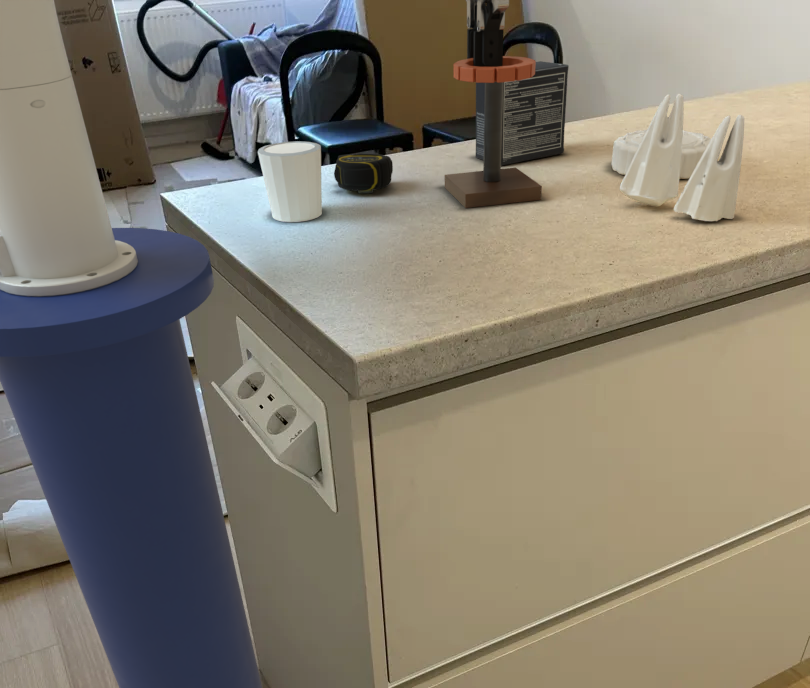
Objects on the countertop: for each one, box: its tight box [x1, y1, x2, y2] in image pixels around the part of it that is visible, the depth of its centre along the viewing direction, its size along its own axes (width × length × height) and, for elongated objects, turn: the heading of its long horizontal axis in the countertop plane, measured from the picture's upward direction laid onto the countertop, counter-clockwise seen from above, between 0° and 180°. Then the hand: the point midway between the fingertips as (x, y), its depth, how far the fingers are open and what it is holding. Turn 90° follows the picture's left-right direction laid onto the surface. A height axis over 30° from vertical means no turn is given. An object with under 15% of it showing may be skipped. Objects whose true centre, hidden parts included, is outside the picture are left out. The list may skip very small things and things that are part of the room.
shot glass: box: [257, 140, 323, 223], centre depth 89 cm, size 7×7×7 cm
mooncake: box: [610, 129, 712, 180], centre depth 99 cm, size 12×12×4 cm
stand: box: [444, 82, 543, 209], centre depth 90 cm, size 9×9×13 cm
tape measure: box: [333, 153, 394, 194], centre depth 97 cm, size 7×7×4 cm
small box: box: [475, 60, 570, 167], centre depth 105 cm, size 11×6×10 cm, turn 118°
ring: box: [453, 55, 537, 84], centre depth 87 cm, size 9×9×1 cm
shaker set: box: [619, 93, 745, 222], centre depth 82 cm, size 12×4×11 cm, turn 47°
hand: (484, 70), depth 90 cm, fingers closed on ring, 1 cm apart
